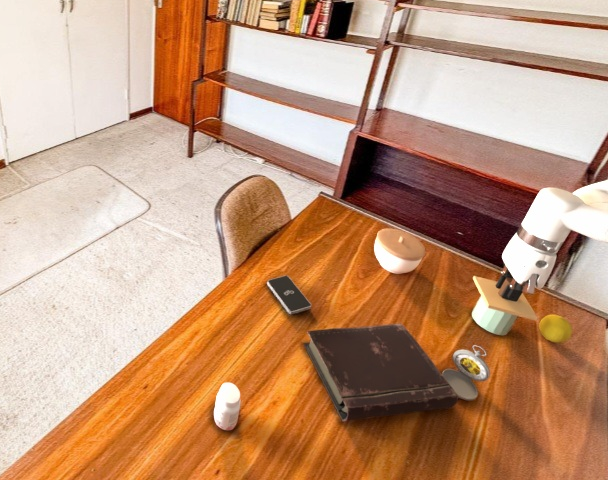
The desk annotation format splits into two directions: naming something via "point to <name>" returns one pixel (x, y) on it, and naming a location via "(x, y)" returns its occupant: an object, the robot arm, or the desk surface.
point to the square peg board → (496, 302)
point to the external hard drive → (289, 295)
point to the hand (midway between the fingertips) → (505, 293)
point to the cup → (492, 318)
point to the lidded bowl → (398, 250)
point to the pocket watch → (467, 373)
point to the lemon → (555, 328)
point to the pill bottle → (227, 406)
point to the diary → (377, 372)
